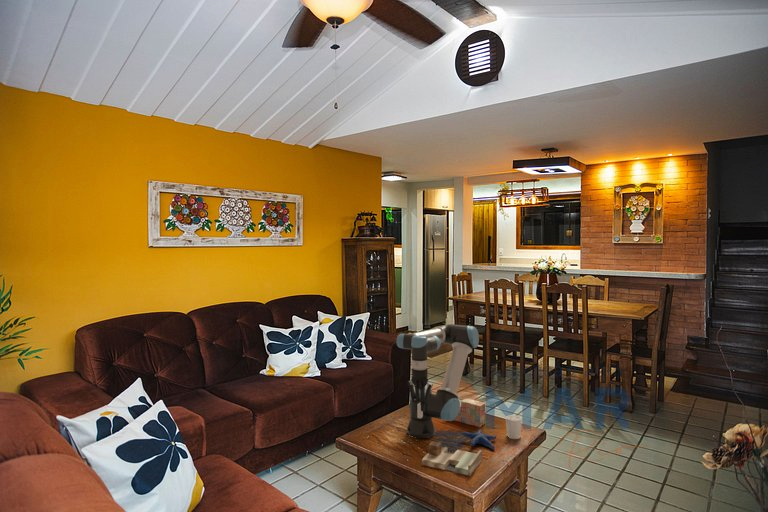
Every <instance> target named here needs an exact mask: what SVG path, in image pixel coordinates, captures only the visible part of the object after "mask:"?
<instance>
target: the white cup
mask: <svg viewBox="0 0 768 512" xmlns="http://www.w3.org/2000/svg"><path fill="white" fill-rule="evenodd" d="M505 427H506V437H507V436H508V437H509V439H512V440H519V439H520V438H521V434H522V433H521V432H522V417H521V416H519V415H515V414H508V415H506V416H505ZM508 437H507V438H508Z"/></svg>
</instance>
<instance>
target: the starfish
mask: <svg viewBox="0 0 768 512" xmlns="http://www.w3.org/2000/svg"><path fill="white" fill-rule="evenodd" d="M461 435H462V436H464V437H466V438H467V439H470V446H471V447H473V446H475V445H476V444H478V445H483V446H484V447H487V448H488V449H490V450H492V451H495V445H494V444H493V443H492V442H491V441H493V440H496V439H497V435H489V434H487V433H486V434H485V433H483V431H482V430H481V429H479V430H477V432H466V431H462V432H461Z"/></svg>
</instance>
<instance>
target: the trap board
mask: <svg viewBox="0 0 768 512" xmlns="http://www.w3.org/2000/svg"><path fill="white" fill-rule="evenodd" d="M448 449H449V448H448V447H446V446H442V445H441V453H440V454H439V455H438V456H435V455H430V454H429V452H428V453H426V454H425V456H423V458H422V459H421V465H422V466H427V467H430V468H435V469H439V470H442V471H443V470H444V471H448V472H452V473H457V474H459V475H460V474H461V475H465V476H469V477H471V476H472V475H473V473H474V472H475V470H476V469H477V468H478V466H479V465H480V464H481V462H482V460H483V451H482V450H481V449H479V450H478V452H477V453H475V452H471V451H466V450H463V449H462V450H461V449H457V450H455V452H454V453H453V452H449V451H448Z"/></svg>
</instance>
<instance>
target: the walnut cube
mask: <svg viewBox="0 0 768 512" xmlns="http://www.w3.org/2000/svg"><path fill="white" fill-rule="evenodd" d="M441 446H442V442H439V441H433V440H432V441H431V442H430V443H429V444H428V453H429V454H430V455H435V456H438V455H439V454H440V453H441Z"/></svg>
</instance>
